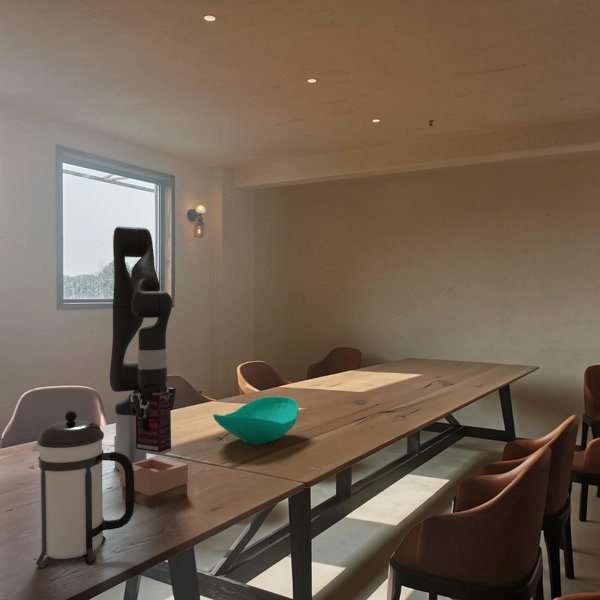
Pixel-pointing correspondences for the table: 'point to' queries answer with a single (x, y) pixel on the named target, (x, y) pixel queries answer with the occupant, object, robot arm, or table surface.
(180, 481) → the tower top
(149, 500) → the tower bottom
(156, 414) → the supplement box
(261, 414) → the table top decor
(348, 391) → the table surface
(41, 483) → the coffee press
